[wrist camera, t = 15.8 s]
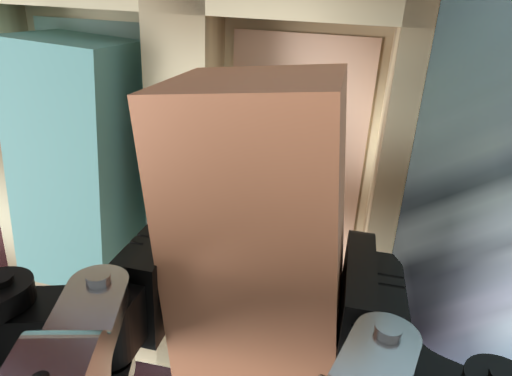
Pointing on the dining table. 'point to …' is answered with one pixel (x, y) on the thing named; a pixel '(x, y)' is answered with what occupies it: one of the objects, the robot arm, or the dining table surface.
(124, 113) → the batten teal
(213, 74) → the block
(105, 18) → the slot rack
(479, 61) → the dining table surface
